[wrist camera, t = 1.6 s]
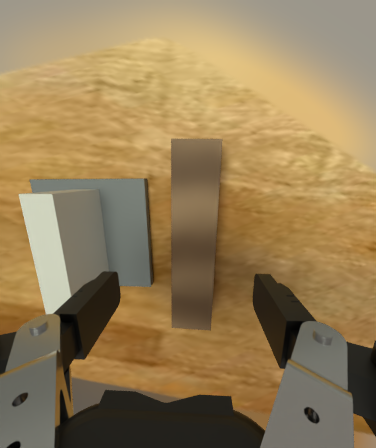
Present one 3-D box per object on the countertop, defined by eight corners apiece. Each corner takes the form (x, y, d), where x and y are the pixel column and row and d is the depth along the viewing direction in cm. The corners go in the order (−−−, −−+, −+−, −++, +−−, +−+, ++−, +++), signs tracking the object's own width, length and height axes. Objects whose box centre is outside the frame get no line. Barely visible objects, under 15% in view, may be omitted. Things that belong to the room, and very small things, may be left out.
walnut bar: (177, 147, 18) (171, 138, 14) (217, 147, 18) (222, 139, 14) (176, 302, 23) (171, 327, 19) (209, 304, 22) (210, 330, 19)
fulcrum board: (146, 178, 19) (116, 178, 12) (153, 281, 22) (131, 328, 15) (38, 179, 20) (-48, 179, 13) (58, 278, 23) (-4, 321, 16)
